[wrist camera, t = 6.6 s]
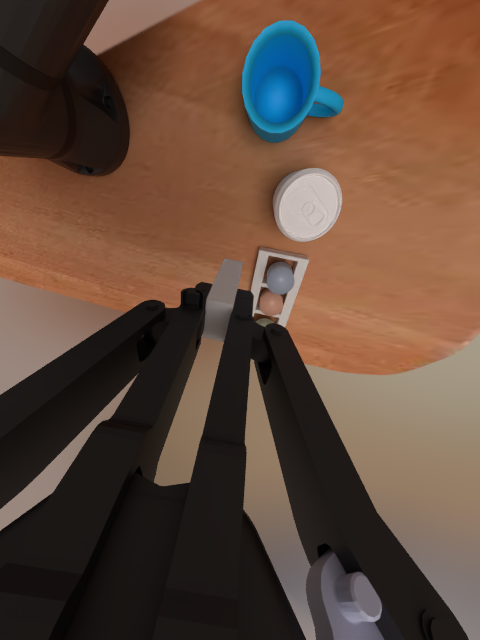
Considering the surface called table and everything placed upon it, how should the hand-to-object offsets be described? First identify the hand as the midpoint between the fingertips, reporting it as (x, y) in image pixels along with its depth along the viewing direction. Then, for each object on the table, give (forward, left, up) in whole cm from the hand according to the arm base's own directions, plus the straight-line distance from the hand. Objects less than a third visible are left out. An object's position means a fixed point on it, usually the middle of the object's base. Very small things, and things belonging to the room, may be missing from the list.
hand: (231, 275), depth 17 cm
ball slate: (+9, -3, -21) cm, 24 cm away
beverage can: (+4, +8, -25) cm, 26 cm away
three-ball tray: (+13, -8, -25) cm, 29 cm away
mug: (-5, +15, -25) cm, 29 cm away
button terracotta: (+13, -8, -24) cm, 28 cm away
